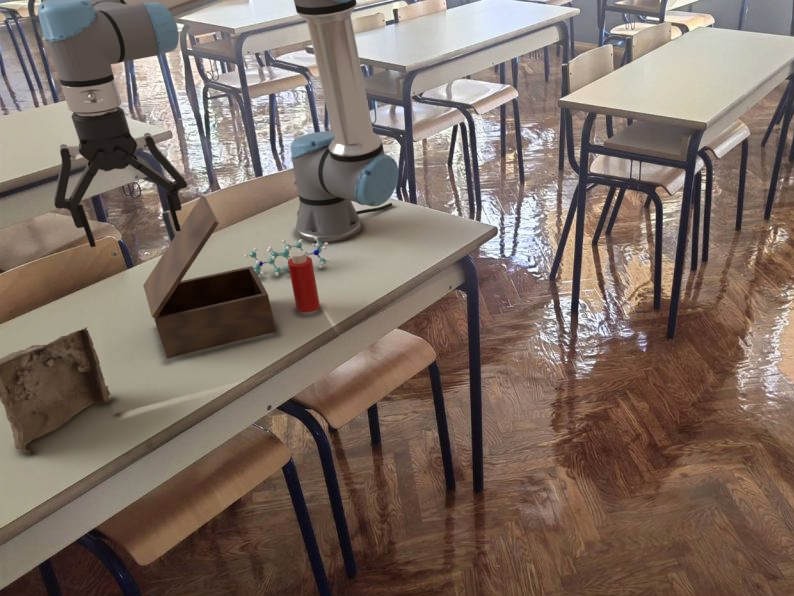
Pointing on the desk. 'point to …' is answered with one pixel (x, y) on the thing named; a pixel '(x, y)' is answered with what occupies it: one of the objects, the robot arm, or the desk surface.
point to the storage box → (214, 312)
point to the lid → (179, 255)
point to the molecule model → (286, 253)
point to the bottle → (303, 282)
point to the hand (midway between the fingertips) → (136, 236)
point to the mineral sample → (50, 385)
